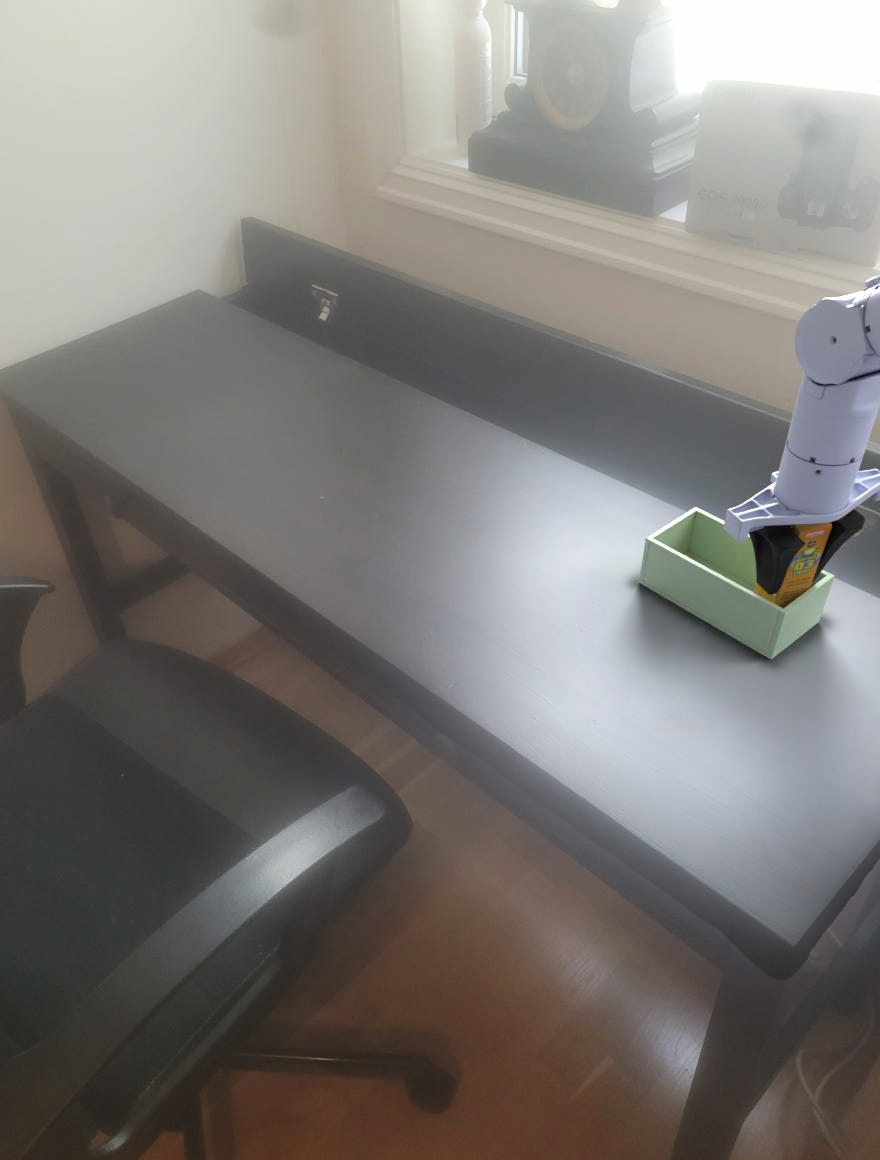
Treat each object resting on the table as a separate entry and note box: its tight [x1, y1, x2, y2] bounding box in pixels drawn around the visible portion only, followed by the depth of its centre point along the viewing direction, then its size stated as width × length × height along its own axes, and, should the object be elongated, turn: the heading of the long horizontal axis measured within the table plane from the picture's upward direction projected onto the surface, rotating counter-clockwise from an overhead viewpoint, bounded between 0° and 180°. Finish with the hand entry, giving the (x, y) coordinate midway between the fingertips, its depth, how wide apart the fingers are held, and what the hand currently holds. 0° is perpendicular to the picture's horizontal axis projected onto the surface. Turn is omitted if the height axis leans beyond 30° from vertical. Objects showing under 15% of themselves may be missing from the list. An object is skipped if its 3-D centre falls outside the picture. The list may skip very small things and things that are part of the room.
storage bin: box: [638, 506, 835, 660], centre depth 84 cm, size 15×8×6 cm, turn 39°
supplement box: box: [754, 522, 832, 609], centre depth 78 cm, size 3×3×10 cm
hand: (785, 581), depth 79 cm, fingers closed on supplement box, 3 cm apart
